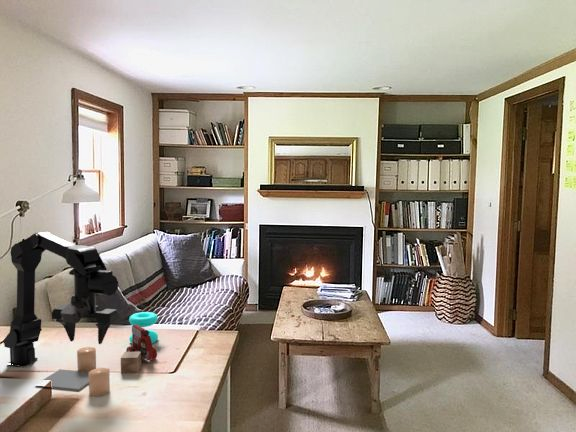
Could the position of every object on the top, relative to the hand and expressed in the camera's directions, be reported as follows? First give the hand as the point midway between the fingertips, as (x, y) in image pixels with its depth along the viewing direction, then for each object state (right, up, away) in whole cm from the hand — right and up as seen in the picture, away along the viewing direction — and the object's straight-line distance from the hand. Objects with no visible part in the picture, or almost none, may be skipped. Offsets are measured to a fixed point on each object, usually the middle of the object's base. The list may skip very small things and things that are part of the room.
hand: (86, 342), depth 143 cm
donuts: (+7, -9, +34) cm, 36 cm away
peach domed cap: (+7, -12, -6) cm, 15 cm away
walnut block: (+10, -11, +9) cm, 18 cm away
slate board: (-5, -12, +1) cm, 13 cm away
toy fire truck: (+11, -10, +18) cm, 23 cm away
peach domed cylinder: (-4, -11, +10) cm, 15 cm away
